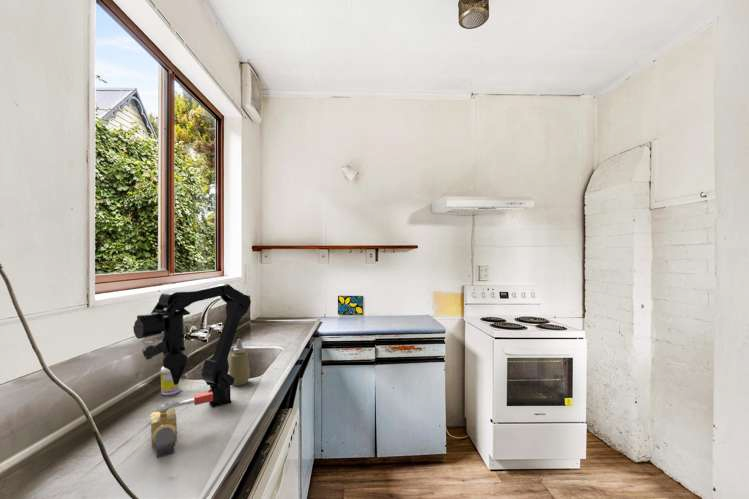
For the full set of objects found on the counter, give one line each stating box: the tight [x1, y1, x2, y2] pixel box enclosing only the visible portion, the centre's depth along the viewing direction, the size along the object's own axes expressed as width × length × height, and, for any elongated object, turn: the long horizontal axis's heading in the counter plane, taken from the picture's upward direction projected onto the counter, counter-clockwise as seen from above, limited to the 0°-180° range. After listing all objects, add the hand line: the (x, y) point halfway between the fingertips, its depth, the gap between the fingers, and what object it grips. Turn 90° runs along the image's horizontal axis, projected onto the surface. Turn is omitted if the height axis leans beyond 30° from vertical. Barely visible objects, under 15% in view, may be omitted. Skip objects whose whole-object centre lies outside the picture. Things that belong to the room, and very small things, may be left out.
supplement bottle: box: [160, 366, 182, 396], centre depth 134 cm, size 7×7×13 cm
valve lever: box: [156, 391, 213, 412], centre depth 103 cm, size 14×3×2 cm, turn 124°
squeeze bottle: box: [228, 338, 251, 386], centre depth 142 cm, size 8×8×18 cm
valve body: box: [150, 407, 178, 459], centre depth 100 cm, size 6×22×8 cm, turn 34°
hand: (175, 379), depth 110 cm, fingers open, 9 cm apart
